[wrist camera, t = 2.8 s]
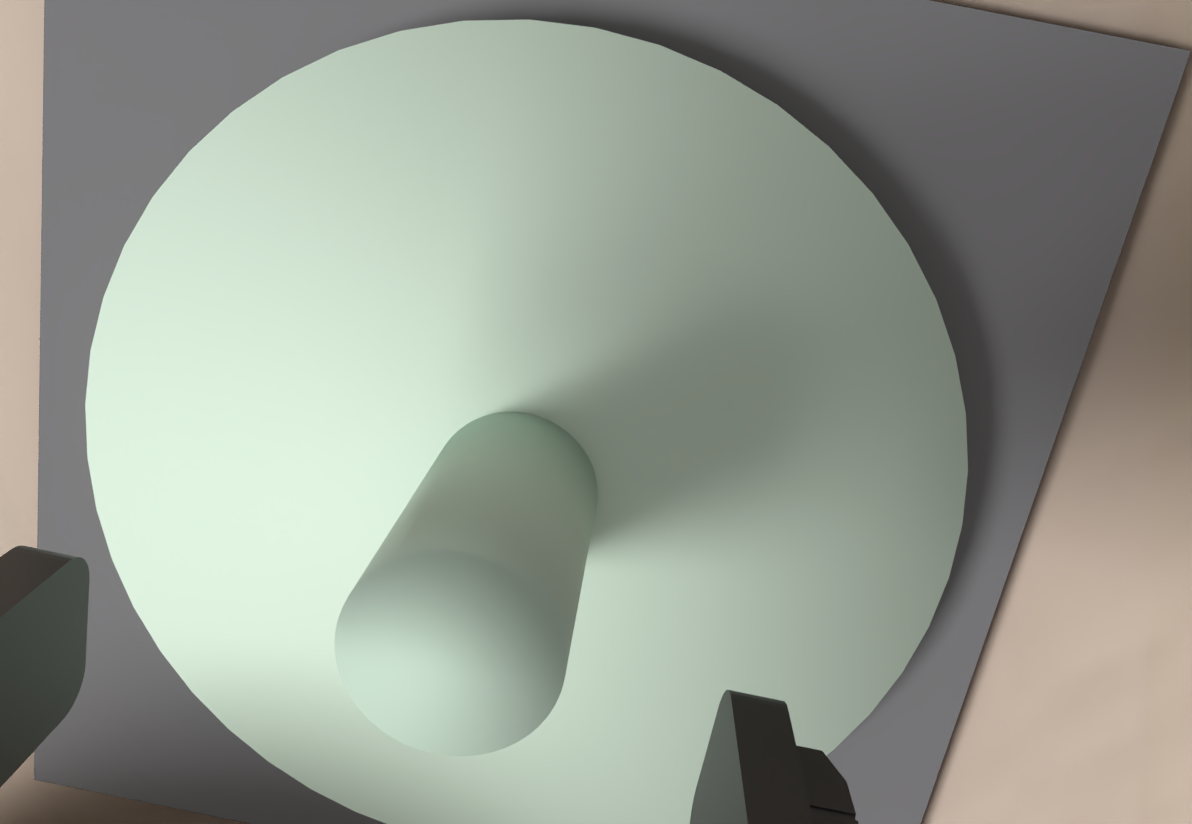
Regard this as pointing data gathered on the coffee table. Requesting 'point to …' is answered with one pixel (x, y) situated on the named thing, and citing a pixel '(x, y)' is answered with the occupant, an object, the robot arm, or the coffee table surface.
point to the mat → (762, 63)
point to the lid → (522, 425)
